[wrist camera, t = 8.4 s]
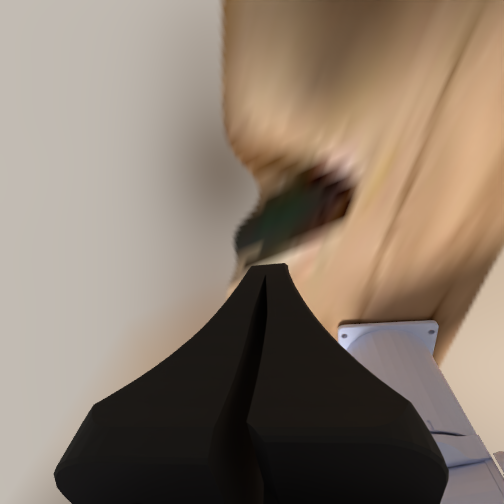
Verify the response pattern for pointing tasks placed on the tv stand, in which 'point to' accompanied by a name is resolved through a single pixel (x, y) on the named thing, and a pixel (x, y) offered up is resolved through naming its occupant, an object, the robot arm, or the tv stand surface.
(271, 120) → the tv stand surface
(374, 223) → the tv stand surface
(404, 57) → the tv stand surface
